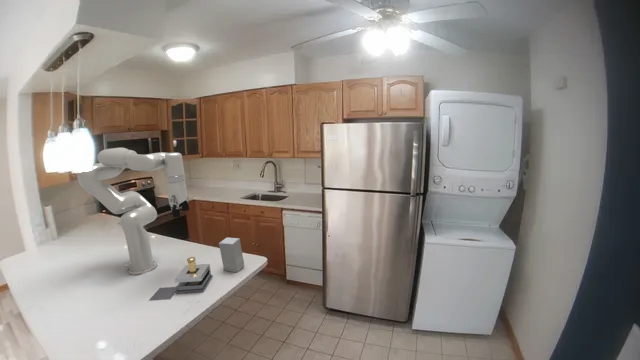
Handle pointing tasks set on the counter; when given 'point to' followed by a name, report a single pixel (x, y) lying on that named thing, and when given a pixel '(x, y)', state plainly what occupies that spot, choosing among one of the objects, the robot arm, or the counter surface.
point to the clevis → (193, 279)
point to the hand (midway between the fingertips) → (181, 213)
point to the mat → (164, 293)
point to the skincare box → (231, 254)
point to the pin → (192, 265)
